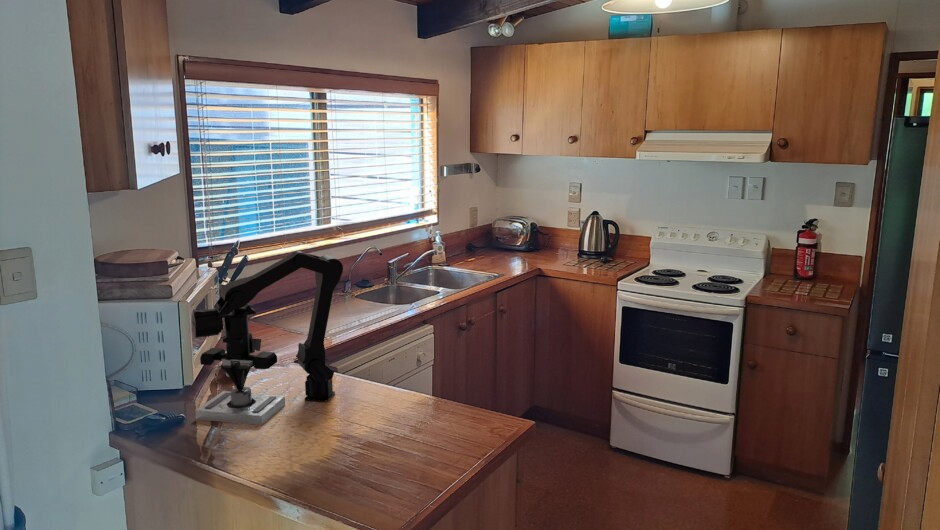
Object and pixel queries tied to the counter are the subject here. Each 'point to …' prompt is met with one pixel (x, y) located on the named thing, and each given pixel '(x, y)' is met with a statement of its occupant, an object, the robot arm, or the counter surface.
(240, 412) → the jig
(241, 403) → the bushing
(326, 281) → the robot arm
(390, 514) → the counter surface
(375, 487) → the counter surface
